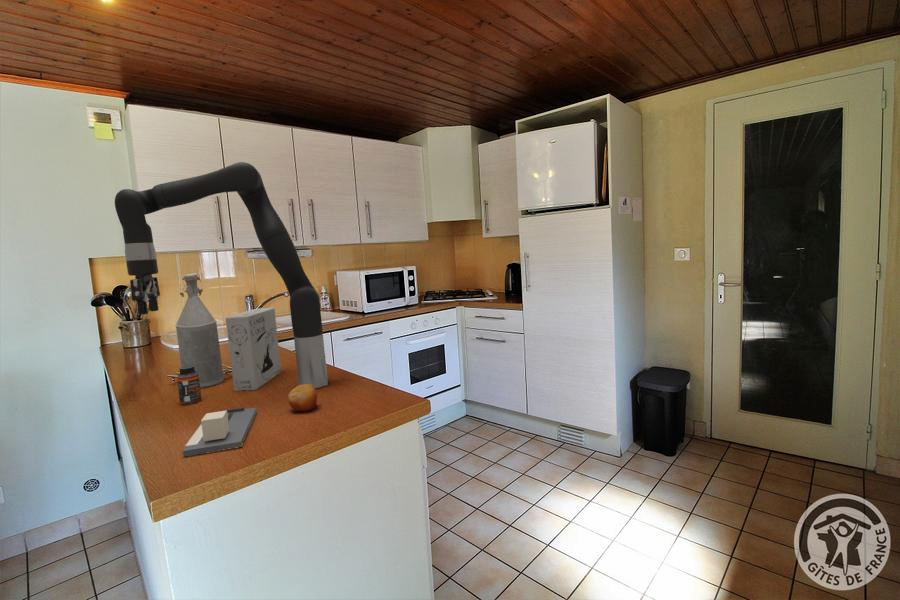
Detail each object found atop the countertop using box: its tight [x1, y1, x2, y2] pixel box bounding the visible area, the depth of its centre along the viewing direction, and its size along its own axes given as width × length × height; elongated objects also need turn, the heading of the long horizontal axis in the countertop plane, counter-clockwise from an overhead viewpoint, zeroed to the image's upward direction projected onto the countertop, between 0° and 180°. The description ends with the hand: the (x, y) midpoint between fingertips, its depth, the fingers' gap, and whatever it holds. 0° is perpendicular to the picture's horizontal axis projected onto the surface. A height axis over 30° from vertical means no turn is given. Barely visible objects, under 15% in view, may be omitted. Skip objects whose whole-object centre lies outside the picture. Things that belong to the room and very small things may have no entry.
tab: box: [200, 410, 229, 441], centre depth 105 cm, size 4×5×5 cm
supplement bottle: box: [176, 366, 202, 405], centre depth 138 cm, size 6×6×11 cm
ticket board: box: [182, 406, 258, 458], centre depth 112 cm, size 12×24×2 cm, turn 16°
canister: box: [175, 273, 225, 389], centre depth 158 cm, size 13×17×40 cm
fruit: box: [287, 384, 318, 412], centre depth 126 cm, size 8×8×8 cm
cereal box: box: [225, 307, 282, 392], centre depth 156 cm, size 22×8×25 cm, turn 179°
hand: (149, 312), depth 133 cm, fingers open, 8 cm apart
